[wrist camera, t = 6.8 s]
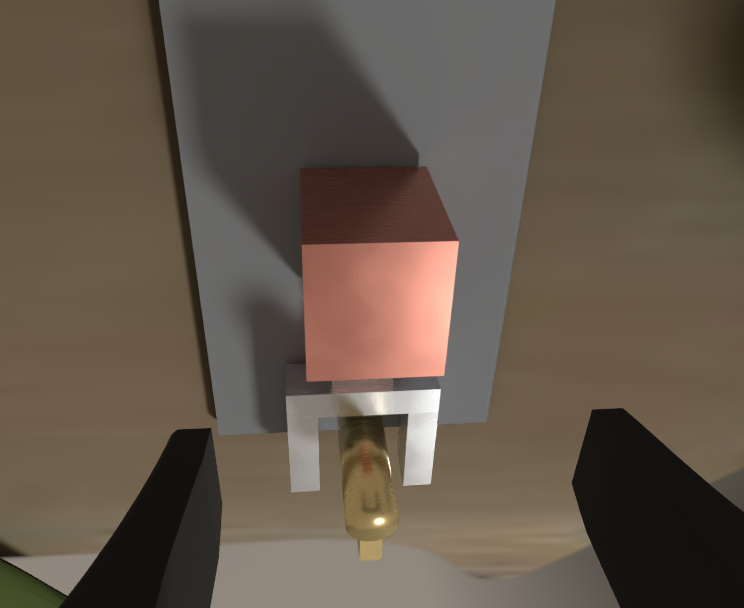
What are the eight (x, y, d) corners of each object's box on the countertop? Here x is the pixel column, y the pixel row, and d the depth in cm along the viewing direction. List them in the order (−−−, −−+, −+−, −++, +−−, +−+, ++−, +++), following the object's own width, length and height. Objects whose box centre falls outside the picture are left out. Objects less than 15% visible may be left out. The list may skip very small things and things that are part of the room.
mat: (483, 411, 26) (486, 421, 25) (220, 424, 25) (219, 435, 24) (563, -102, 16) (572, -101, 16) (147, -113, 16) (142, -112, 15)
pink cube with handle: (423, 451, 26) (445, 552, 22) (291, 458, 25) (291, 563, 21) (450, 166, 19) (488, 240, 15) (275, 168, 19) (270, 245, 15)
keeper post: (378, 440, 25) (396, 560, 21) (336, 443, 25) (345, 563, 21) (380, 388, 24) (399, 505, 20) (336, 390, 24) (345, 508, 19)
